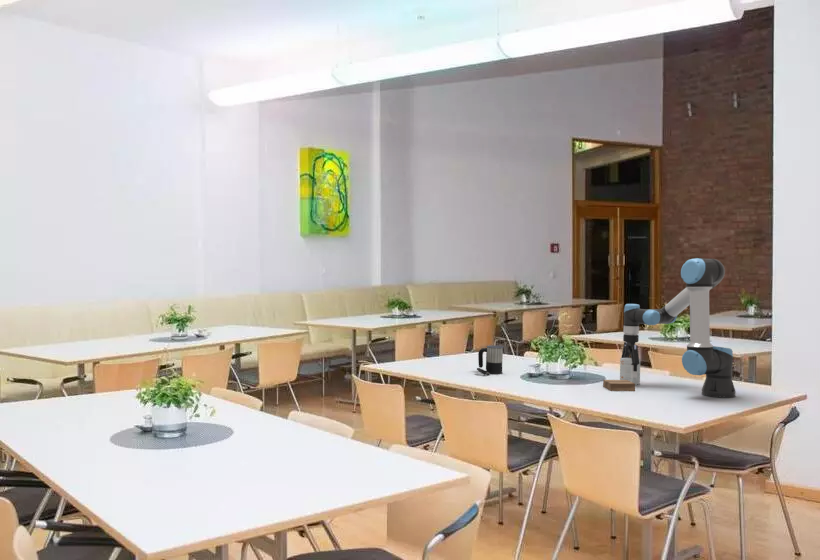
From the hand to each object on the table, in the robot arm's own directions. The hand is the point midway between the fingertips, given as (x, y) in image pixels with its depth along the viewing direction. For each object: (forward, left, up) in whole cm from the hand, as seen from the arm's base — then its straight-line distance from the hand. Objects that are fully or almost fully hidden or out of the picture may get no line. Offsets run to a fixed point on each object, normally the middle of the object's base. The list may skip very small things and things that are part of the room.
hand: (629, 375), depth 419 cm
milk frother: (+31, +67, -4) cm, 74 cm away
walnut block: (-16, +11, -5) cm, 20 cm away
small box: (0, 0, -4) cm, 4 cm away
